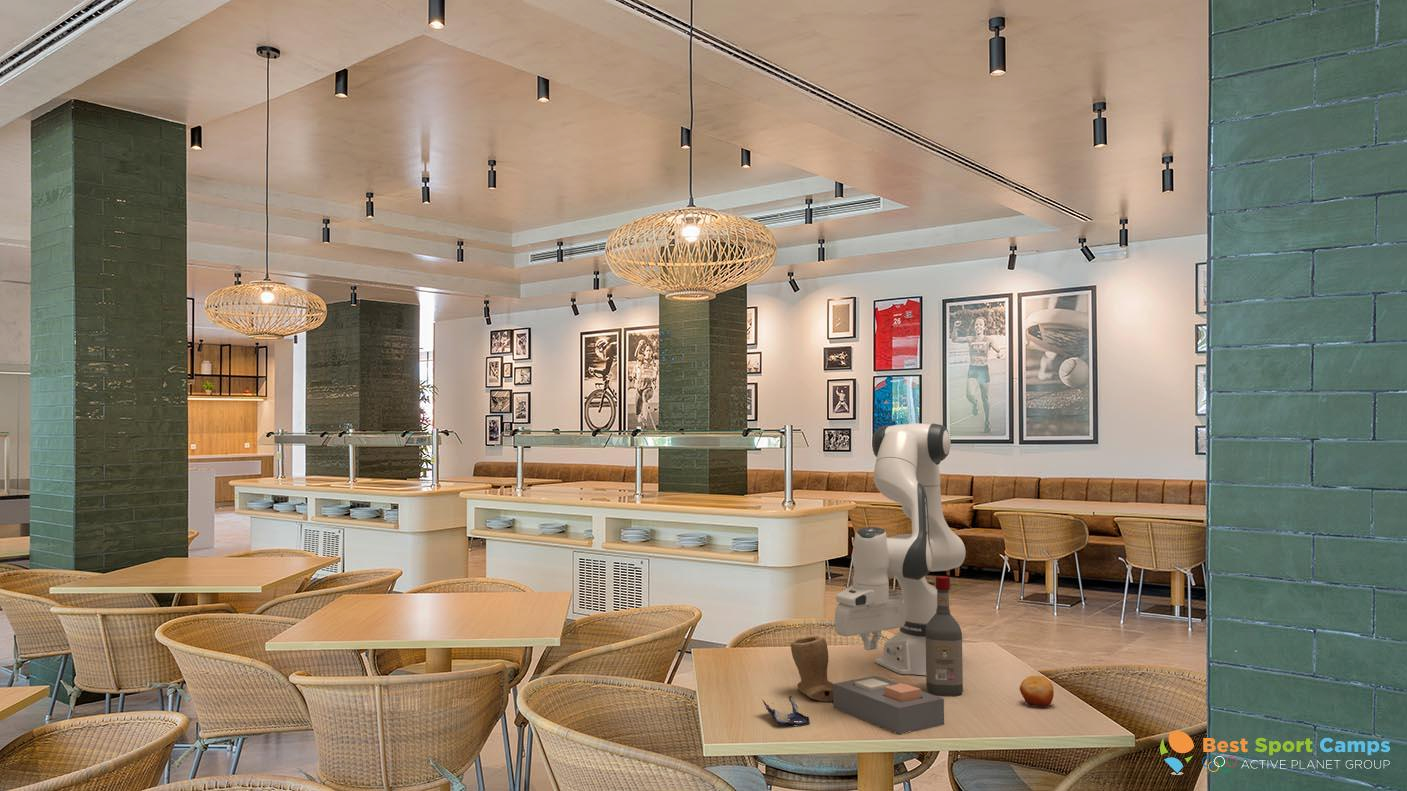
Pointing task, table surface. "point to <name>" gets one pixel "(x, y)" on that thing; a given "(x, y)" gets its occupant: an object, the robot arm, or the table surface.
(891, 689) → the terracotta key
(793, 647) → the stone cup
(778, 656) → the table surface
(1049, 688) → the fruit
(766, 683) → the table surface
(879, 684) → the off-white key
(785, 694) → the table surface
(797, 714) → the dark blue forked piece
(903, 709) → the key panel
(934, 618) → the liquor
